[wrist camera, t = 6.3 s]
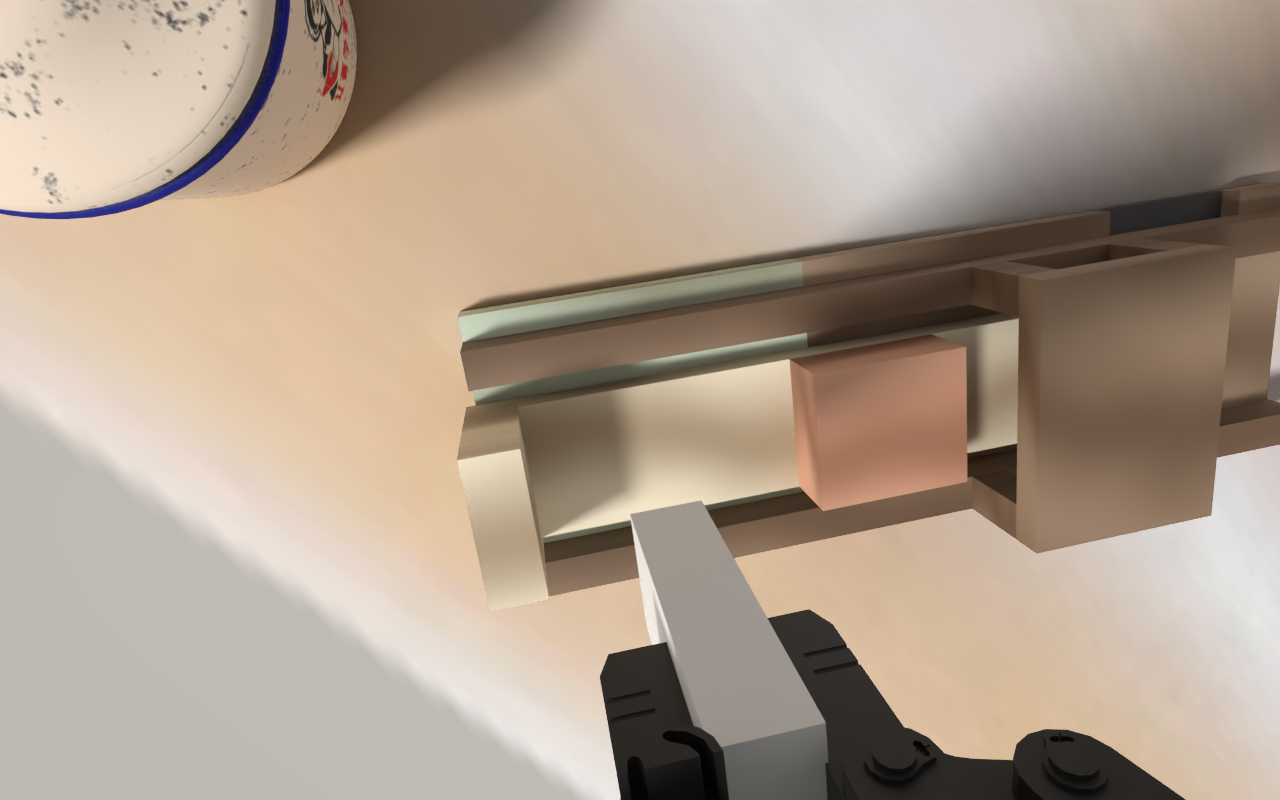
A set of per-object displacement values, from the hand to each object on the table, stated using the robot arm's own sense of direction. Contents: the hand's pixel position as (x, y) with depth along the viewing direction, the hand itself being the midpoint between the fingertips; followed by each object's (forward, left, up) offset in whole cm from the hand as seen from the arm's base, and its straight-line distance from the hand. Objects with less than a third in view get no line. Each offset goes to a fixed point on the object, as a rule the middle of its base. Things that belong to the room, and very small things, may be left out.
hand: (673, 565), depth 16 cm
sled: (+1, +5, -9) cm, 11 cm away
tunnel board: (+1, +10, -11) cm, 15 cm away
